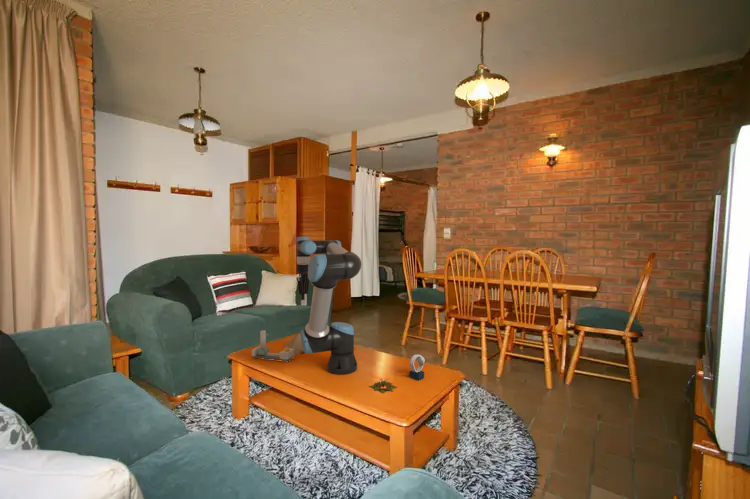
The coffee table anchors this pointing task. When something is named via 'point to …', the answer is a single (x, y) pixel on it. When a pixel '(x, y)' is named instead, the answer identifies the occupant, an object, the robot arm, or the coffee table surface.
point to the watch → (417, 373)
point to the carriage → (263, 343)
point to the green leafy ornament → (383, 383)
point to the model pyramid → (295, 344)
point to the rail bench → (274, 355)
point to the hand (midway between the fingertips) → (303, 305)
